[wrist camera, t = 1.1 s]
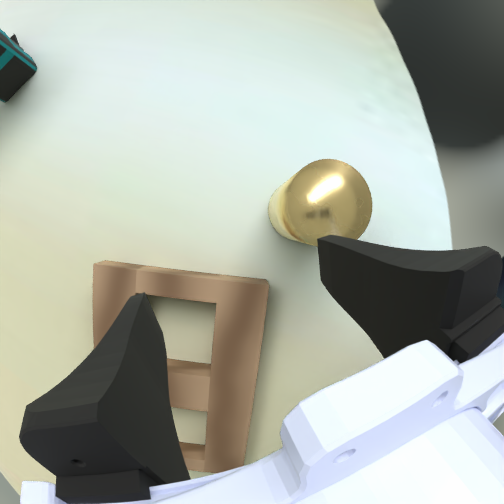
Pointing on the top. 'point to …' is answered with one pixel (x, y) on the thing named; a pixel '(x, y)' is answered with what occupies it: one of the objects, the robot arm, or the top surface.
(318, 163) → the brass peg
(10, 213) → the top surface
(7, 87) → the surveillance camera
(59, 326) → the top surface
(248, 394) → the jig plate
